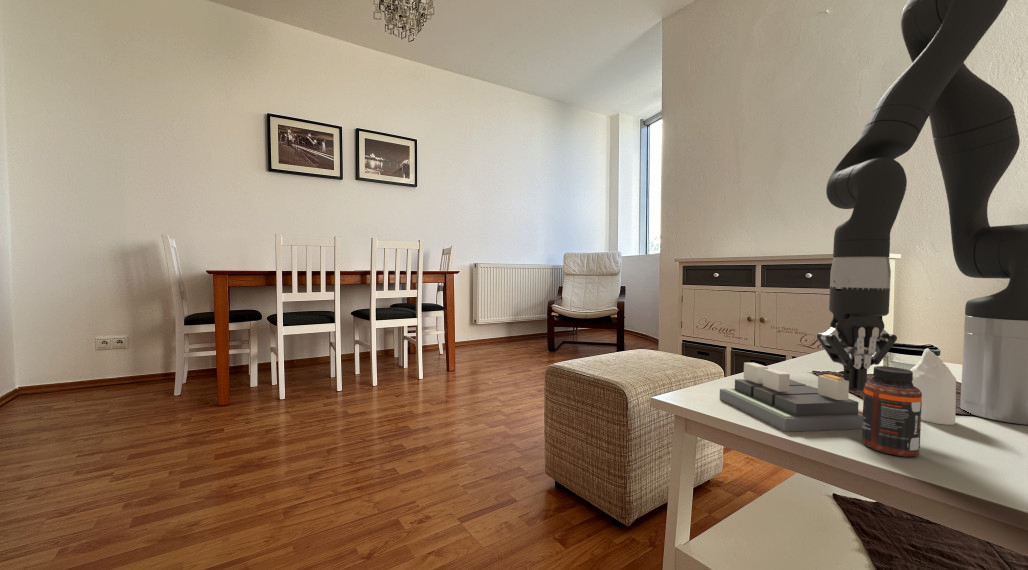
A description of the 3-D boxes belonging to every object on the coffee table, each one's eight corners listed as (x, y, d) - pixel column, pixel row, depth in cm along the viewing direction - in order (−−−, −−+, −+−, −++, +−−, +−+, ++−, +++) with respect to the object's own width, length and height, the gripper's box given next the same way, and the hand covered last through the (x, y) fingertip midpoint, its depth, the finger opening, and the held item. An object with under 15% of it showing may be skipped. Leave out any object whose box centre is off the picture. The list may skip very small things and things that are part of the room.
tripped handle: (828, 392, 68) (828, 373, 68) (848, 399, 65) (849, 379, 65) (817, 393, 68) (818, 373, 68) (837, 399, 64) (838, 379, 64)
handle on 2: (773, 385, 73) (773, 368, 72) (789, 391, 69) (789, 373, 69) (762, 385, 72) (763, 368, 72) (778, 391, 69) (779, 374, 69)
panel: (794, 397, 80) (795, 377, 80) (876, 428, 64) (877, 403, 64) (719, 399, 78) (720, 378, 78) (785, 431, 62) (786, 406, 62)
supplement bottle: (932, 461, 53) (936, 375, 53) (879, 456, 54) (883, 372, 54) (898, 442, 59) (902, 365, 58) (851, 438, 60) (855, 362, 60)
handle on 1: (753, 378, 77) (753, 362, 77) (767, 383, 74) (767, 367, 74) (743, 378, 77) (744, 362, 77) (757, 383, 74) (757, 367, 74)
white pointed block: (969, 353, 65) (927, 351, 66) (965, 426, 65) (924, 423, 67) (939, 346, 71) (901, 344, 72) (936, 414, 71) (898, 411, 73)
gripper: (871, 285, 71) (866, 383, 71) (803, 284, 69) (799, 384, 70) (919, 286, 63) (914, 396, 64) (844, 285, 62) (839, 397, 62)
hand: (854, 389), depth 67 cm, fingers closed
